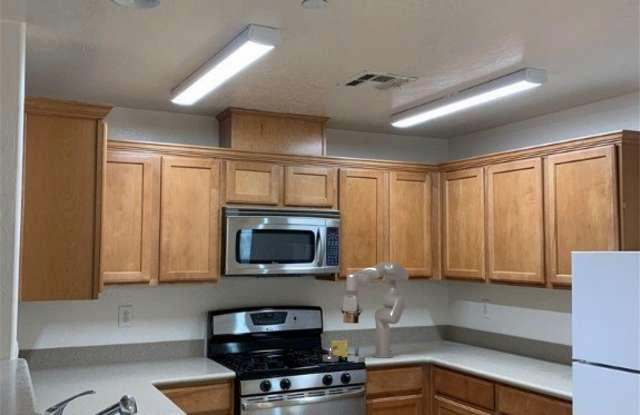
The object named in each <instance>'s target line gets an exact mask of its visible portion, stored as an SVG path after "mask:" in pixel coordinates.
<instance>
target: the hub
mask: <svg viewBox="0 0 640 415" xmlns="http://www.w3.org/2000/svg"><path fill="white" fill-rule="evenodd" d="M339 358H340V357H339V356H338V355H333V348H332V347H331V346H330V347H328V354H323V355H322V362H326V363H337V362H339Z"/></svg>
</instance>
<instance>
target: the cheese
mask: <svg viewBox="0 0 640 415" xmlns="http://www.w3.org/2000/svg"><path fill="white" fill-rule="evenodd" d="M330 347H332V348H333V355H338V356H342V357H341V358H345V357H347V358H348V356H349V352H348V350H349V348H348V339H347V340H346V339H342V340H339V339H338V340H334V339H333V340H332V341H331V346H330Z"/></svg>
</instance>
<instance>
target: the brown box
mask: <svg viewBox="0 0 640 415" xmlns="http://www.w3.org/2000/svg"><path fill="white" fill-rule="evenodd" d="M359 318H360V315H359V316H358V323H359ZM342 321H343V322H342V323H343V324H344V323H345V324H356V323H355V313H354V312H348V313H344V315H343V317H342Z"/></svg>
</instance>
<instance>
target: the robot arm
mask: <svg viewBox="0 0 640 415" xmlns="http://www.w3.org/2000/svg"><path fill="white" fill-rule="evenodd" d="M384 276H385V278H386V283H387V289H386V290H385V291H386V292H385V294H384V296H383V299H382V302H381V304H382V307H383V308H382V307H380V308H377V309H376V310H375V311H374V320H375V322H374V323H375V352H374V353H373V354H372V356H373V357H375V358H380V359H381V358H385V359H389V358H392V357H393V354H391V353H393V349H391V328H390V324H392V325H395V324H397V323H398V322H400V320H401V318H402V314H403V312H404V309H405V307H406V299H405V297H404V296H403V295H401V294H400V290H401V289H400V288H401V287H400V286H399V285H400V284H398V282H399V283H400V282H401V283H406V282H407V281H408V279H409V276H410V274H409V272H408V270H407V269H406V268H405V267H403V266H402V265H401V264H399V263H397V262H395V261H382V262H379V263H377V264H375V265H374V266H371V267H367V268H364V269H359V270H357V271H355V272H352V273H348V274H346V285H345V286H346V288H345V291H344V294H345V295H344V297H343V303H342V306H341V307H340V308H339V309H340V311H341V313H342V314H343V315H344V313H355V323H354V324H359V322H358V316H359V317H360V315H361V314H362V313H363V312H364V309H363V308H361V307H360V306H361V305H360V303H361V302H360V296H359V286H361V287H366V286H368V285H369V284H370V281H374V280H378V279H380V278H382V277H384Z"/></svg>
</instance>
